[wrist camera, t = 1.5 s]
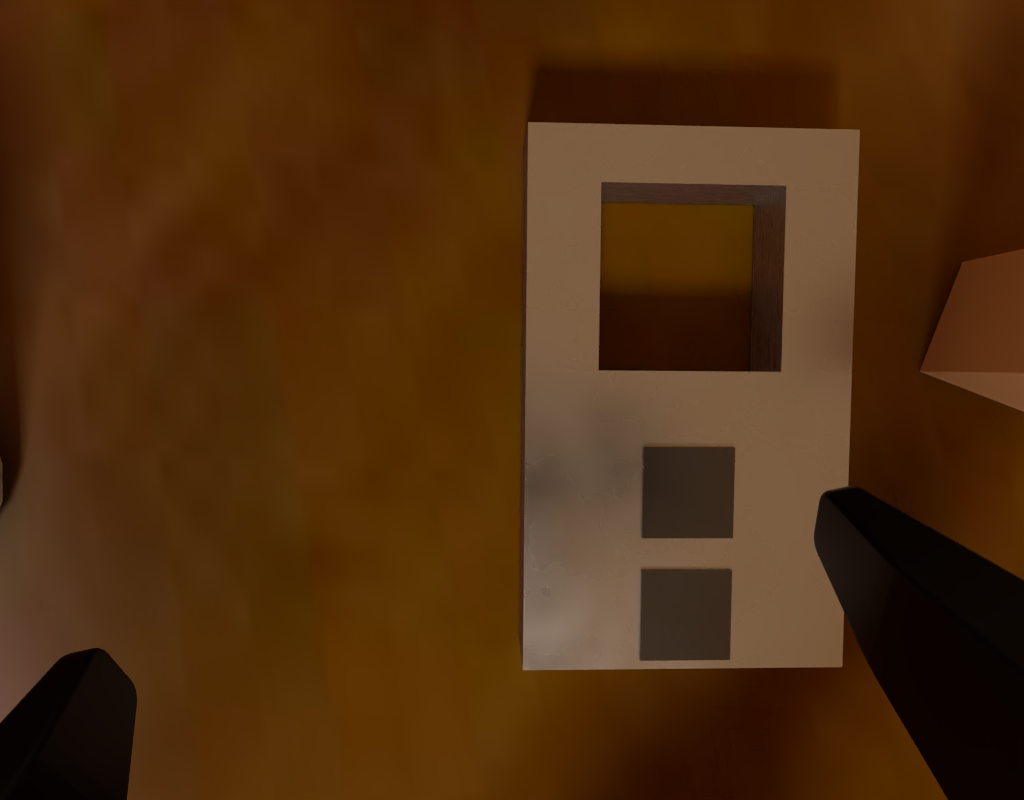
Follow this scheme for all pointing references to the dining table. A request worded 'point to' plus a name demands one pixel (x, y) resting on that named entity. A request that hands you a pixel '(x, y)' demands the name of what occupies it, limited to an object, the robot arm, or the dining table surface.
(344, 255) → the dining table surface
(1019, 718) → the robot arm
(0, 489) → the can
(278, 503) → the dining table surface
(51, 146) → the dining table surface
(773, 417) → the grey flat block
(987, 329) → the square peg
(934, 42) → the dining table surface
